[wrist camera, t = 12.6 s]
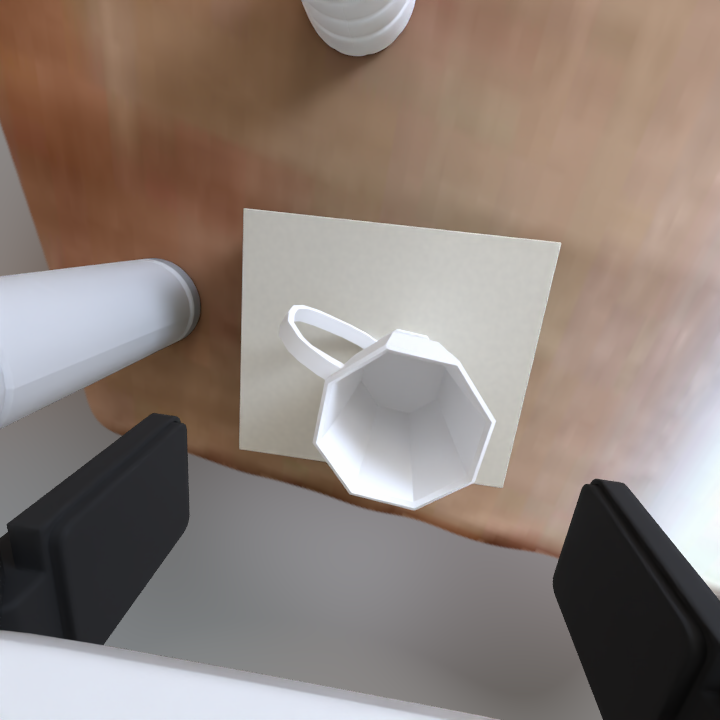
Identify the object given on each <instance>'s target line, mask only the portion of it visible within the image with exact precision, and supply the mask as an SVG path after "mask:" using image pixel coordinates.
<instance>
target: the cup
mask: <svg viewBox="0 0 720 720" xmlns="http://www.w3.org/2000/svg"><path fill="white" fill-rule="evenodd" d="M296 321H301V322H304V323H307V324H310V325H313V326H316V327H319V328H321V329H324V330H326V331H328V332H331V333H333V334H336V335H338V336H340V337H343V338H345V339H346V340H348V341H350V342H352V343H354V344H356V345H358V346H360V347H361V348H363V350H362V351H360V352H358V353H357V354H355V355H354V356H353V357H352V358H350V359H349V360H348V361H347V362H346V363H345V364H343V363H341V362H339V361H337V360H336V359H334V358H332V357H330V356H329V355H327V354H325V353H324V352H322V351H320V350H319V349H317V348H316V347H314V346H312V345H311V344H310V343H309V342H308V341H307V340H306V339H305V338H304V337H303V336H302V334H301V333H300V331H299V330H298V328H297V327H296V325H295V323H294V322H296ZM279 337H280V338H281V340H282V342H283V343H284V345H285V347H286V349H287V350H288V352H290V353H291V354H292V355H293V356H294V357H295V358H296V359H297V360H298V361H299V362H300V363H302V364H303V365H304V366H306V367H307V368H308V369H310V370H311V371H312V372H314V373H315V374H316V375H318V376H320V377H321V378H323V379H325V382H324V387H323V392H322V397H321V402H320V407H319V412H318V417H317V422H316V427H315V432H314V437H313V442H312V443H313V444H314V446H315V447H316V448H317V450H318V451H319V452H320V454H321V455H322V457H323V458H324V459H325V461H326V462H327V464H328V465H329V466H330V468H331V469H332V470H333V472H334V473H335V475H336V476H337V477H338V479H339V480H340V482H341V483H342V484H343V486H344V487H345V489H346V490H347V491H348V493H349V494H350V495H354V496H358V497H362V498H366V499H370V500H374V501H378V502H382V503H386V504H390V505H394V506H398V507H402V508H406V509H410V510H414V511H415V510H417V509H419V508H421V507H423V506H425V505H427V504H430V503H432V502H434V501H436V500H438V499H440V498H442V497H444V496H447V495H449V494H451V493H453V492H455V491H457V490H459V489H462V488H464V487H466V486H468V485H470V484H472V483H474V482H475V480H476V477H477V474H478V471H479V469H480V466H481V463H482V460H483V457H484V454H485V451H486V448H487V446H488V443H489V440H490V437H491V434H492V431H493V428H494V425H495V423H496V420H495V419H494V417H493V415H492V414H491V412H490V410H489V409H488V407H487V405H486V404H485V402H484V400H483V399H482V397H481V396H480V394H479V392H478V391H477V389H476V387H475V386H474V384H473V382H472V381H471V379H470V377H469V376H468V374H467V372H466V371H465V369H464V367H463V366H462V364H461V362H460V361H459V360H458V359H457V358H456V357H455V356H453V355H452V354H451V353H450V352H448V351H447V350H446V349H445V348H444V347H443V346H442V345H441V344H440V343H439V342H435V341H432V340H430V339H429V338H428V336H426V335H422V334H417V333H413V332H409V331H405V330H400V329H396V330H394V331H392V332H391V333H389V334H387V335H386V336H384V337H382V338H381V339H379V340H376V339H374V338H373V337H371V336H370V335H368V334H367V333H365V332H363V331H361V330H360V329H358V328H356V327H354V326H352V325H350V324H348V323H346V322H344V321H342V320H340V319H338V318H335V317H333V316H331V315H329V314H326V313H324V312H322V311H320V310H317V309H314V308H311V307H308V306H305V305H293V306H292V308H291V309H290V310H289V311H288V313H287V315H286V316H285V318H284V319H283V321H282V322H281V324H280V330H279Z"/></svg>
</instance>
